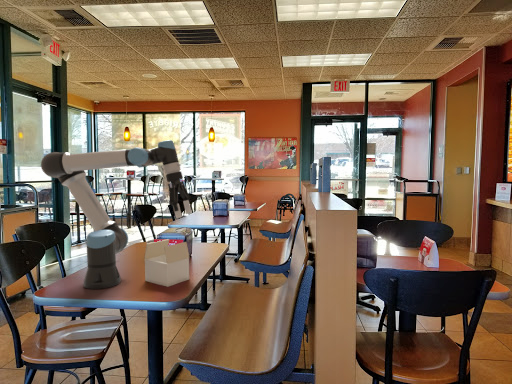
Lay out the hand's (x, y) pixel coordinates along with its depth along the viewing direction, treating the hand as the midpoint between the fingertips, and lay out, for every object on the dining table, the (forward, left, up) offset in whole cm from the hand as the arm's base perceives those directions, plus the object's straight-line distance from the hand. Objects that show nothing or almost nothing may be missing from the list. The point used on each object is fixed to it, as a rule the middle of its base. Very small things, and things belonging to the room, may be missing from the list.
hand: (184, 215), depth 172 cm
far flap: (-11, +6, -15) cm, 20 cm away
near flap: (-11, -7, -15) cm, 20 cm away
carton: (-11, 0, -29) cm, 31 cm away
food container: (+14, +40, -29) cm, 51 cm away
